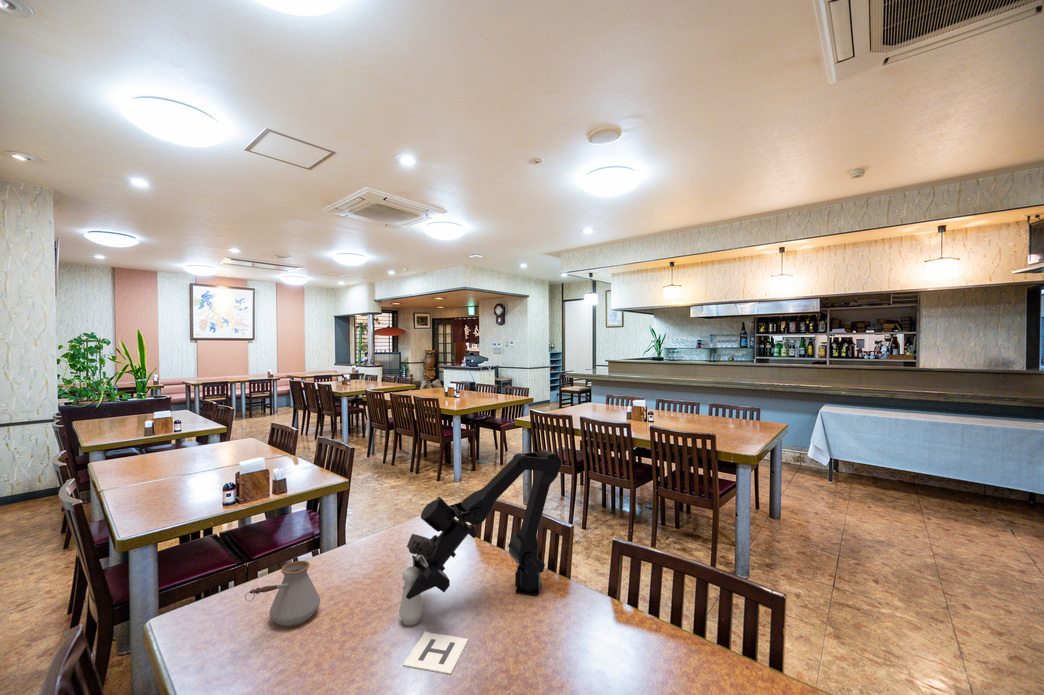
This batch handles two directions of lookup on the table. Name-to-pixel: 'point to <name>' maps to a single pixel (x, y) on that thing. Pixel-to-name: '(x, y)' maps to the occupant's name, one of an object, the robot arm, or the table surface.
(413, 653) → the letter card
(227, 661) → the table surface
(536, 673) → the table surface
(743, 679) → the table surface
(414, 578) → the salt shaker
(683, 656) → the table surface
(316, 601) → the coffee pot
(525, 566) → the robot arm
